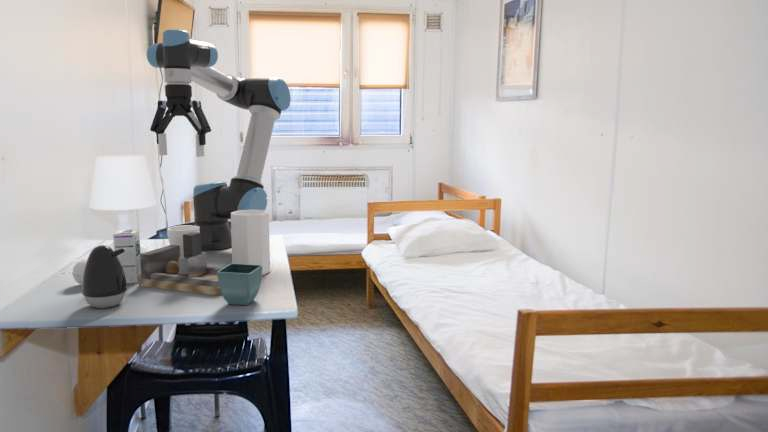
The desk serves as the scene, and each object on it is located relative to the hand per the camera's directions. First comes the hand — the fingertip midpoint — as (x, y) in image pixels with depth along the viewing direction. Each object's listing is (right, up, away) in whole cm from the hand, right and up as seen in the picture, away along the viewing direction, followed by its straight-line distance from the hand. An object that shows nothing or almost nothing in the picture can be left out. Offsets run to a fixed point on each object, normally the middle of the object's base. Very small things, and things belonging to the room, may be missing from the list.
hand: (181, 155), depth 185 cm
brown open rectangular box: (+8, -37, -13) cm, 40 cm away
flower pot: (+25, -40, -30) cm, 56 cm away
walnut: (+1, -33, -11) cm, 35 cm away
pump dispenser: (-8, -41, -33) cm, 53 cm away
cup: (+21, -35, 0) cm, 41 cm away
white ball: (-23, -38, -15) cm, 46 cm away
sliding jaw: (+8, -35, -14) cm, 38 cm away
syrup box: (-11, -37, -10) cm, 40 cm away
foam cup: (0, -35, +3) cm, 35 cm away
